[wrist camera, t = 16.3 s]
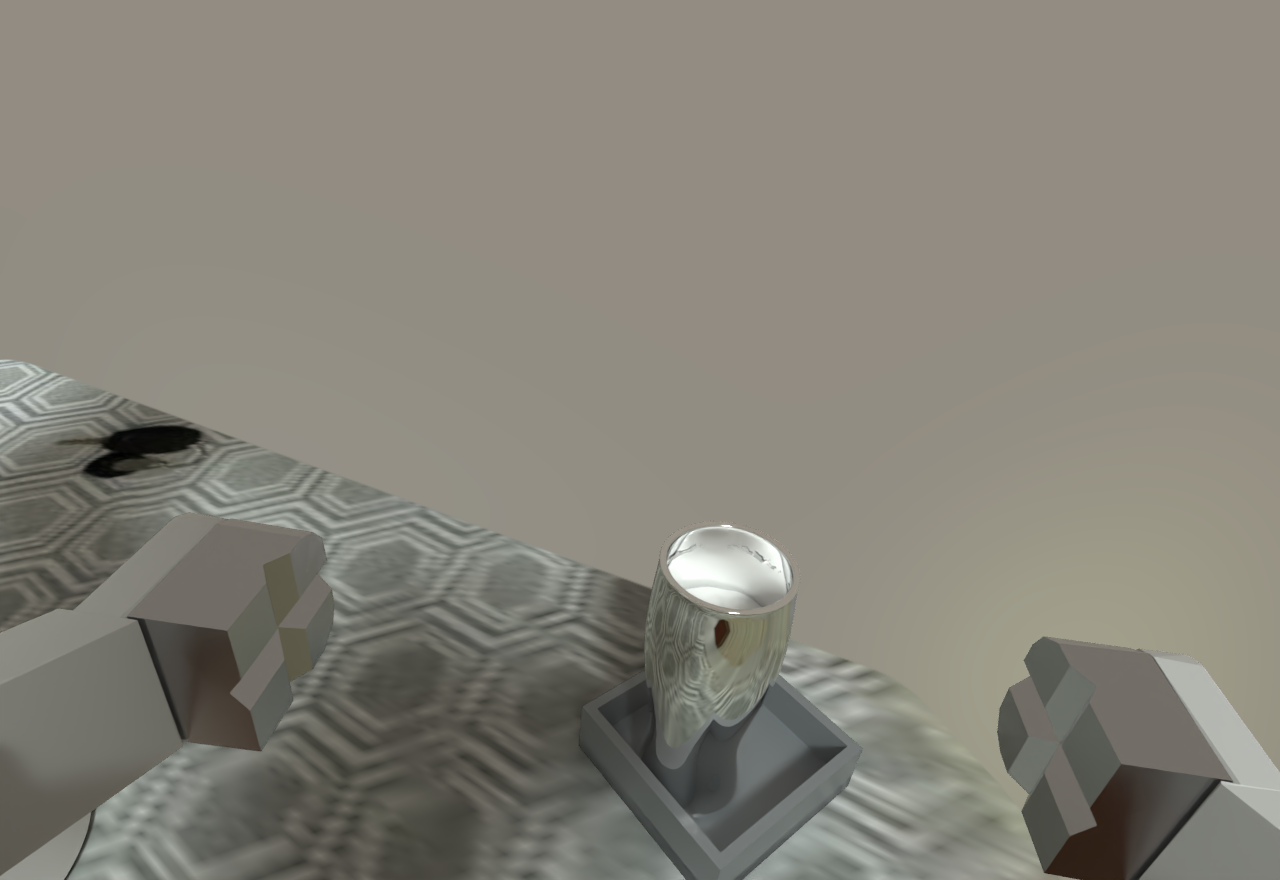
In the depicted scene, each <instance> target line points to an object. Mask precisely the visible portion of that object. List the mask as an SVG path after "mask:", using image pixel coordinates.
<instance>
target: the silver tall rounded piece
mask: <svg viewBox="0 0 1280 880" xmlns="http://www.w3.org/2000/svg"><path fill="white" fill-rule="evenodd" d="M799 586H800V571H799V568H798V565H797V563H796V561H795V559H794V558H793V556H792V555H791V554H790V552H789V551H788V550H787V549H786V548H785V547H784V546H783V545H782V544H780V543H779V542H778V541H776V540H775V539H773V538H772V537H770V536H768V535H767V534H765V533H763V532H761V531H758V530H756V529H753V528H751V527H747V526H744V525H740V524H736V523H730V522H718V521H712V522H700V523H695V524H691V525H688V526H685V527H683V528H681V529H679V530H678V531H676V532H674V533H673V534H672V535H670V536H669V537H668V539H667V540H666V541H665V542H664V544H663V546H662V548H661V551H660V559H659V564H658V568H657V571H656V575H655V579H654V583H653V587H652V591H651V595H650V600H649V606H648V612H647V617H646V627H645V637H644V660H645V674H646V686H647V695H648V708H649V715H648V722H647V726H646V728H645V730H644V733H643V735H642V737H641V739H640V742H639V744H638V747H637V750H636V755H637V756H638V757H639V758H640V759H641V760H642V761H643V763H644V764H645V765H646V766H647V767H648V768H649V770H650V771H651V772H652V773H653V774H654V775H655V777H656V778H657V779H658V780H659V781H660V782H661V784H662V785H663V786H664V787H665V788H666V789H667V791H668V792H669V793H670V794H671V795H672V796H673V798H674V799H675V800H676V801H677V802H678V803H679V805H680V806H681V807H682V808H683V809H684V810H685V812H686V813H687V814H688V815H689V816H690V817H691V818H692V819H698V818H706V817H710V816H713V815H715V814H718V813H719V812H721V811H723V810H724V809H726V808H727V807H728V806H729V805H730V804H731V803H732V802H733V800H734V799H735V797H736V796H737V794H738V792H739V789H740V786H741V781H742V750H743V744H744V741H745V739H746V736H747V734H748V732H749V730H750V729H751V727H752V725H753V723H754V722H755V720H756V718H757V716H758V715H759V713H760V711H761V709H762V708H763V706H764V704H765V702H766V700H767V699H768V697H769V695H770V693H771V691H772V689H773V686H774V684H775V682H776V680H777V678H778V676H779V673H780V670H781V667H782V664H783V661H784V658H785V655H786V651H787V647H788V643H789V638H790V634H791V629H792V624H793V618H794V612H795V605H796V598H797V593H798V589H799Z"/></svg>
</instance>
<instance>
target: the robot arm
mask: <svg viewBox="0 0 1280 880" xmlns="http://www.w3.org/2000/svg"><path fill="white" fill-rule="evenodd" d="M326 561H327V558H326V553H325V549H324V544H323V540H322V537H320V536H318V535H317V534H315V533H313V532H308V531H302V530H296V529H290V528H284V527H278V526H272V525H266V524H260V523H254V522H248V521H242V520H236V519H224V518H218V517H213V516H207V515H201V514H195V513H190V512H189V513H186V514H183V515H179V516H176V517H174V518H173V519H172V520H170V521H169V522H168V523H167V524H166V525H165V526H164V527H163V528H162V529H161V530H160V531H159V532H157V533H156V534H155V535H154V536H153V537H152V538H151V539H150V540H149V541H148V542H147V543H146V544H144V545H143V546H142V547H141V548H140V549H139V550H138V551H137V552H136V553H135V554H134V555H133V556H131V557H130V558H129V559H128V560H127V561H126V562H125V563H124V564H123V565H122V566H121V567H120V568H118V569H117V570H116V571H115V572H114V573H113V574H112V575H111V576H110V577H109V578H108V579H107V580H105V581H104V582H103V583H102V584H101V585H100V586H99V587H98V588H97V589H96V590H95V591H94V592H92V593H91V594H90V595H89V596H88V597H87V598H86V599H85V600H84V601H83V602H82V603H81V604H79V605H78V606H77V607H76V608H75V609H74V610H67V609H59V608H58V609H56V610H54V611H51V612H49V613H46V614H44V615H41V616H39V617H37V618H34V619H32V620H29V621H27V622H24V623H22V624H20V625H17V626H15V627H12V628H10V629H7V630H5V631H3V632H0V880H64V879H65V877H66V876H67V874H68V872H69V871H70V869H71V867H72V865H73V864H74V862H75V860H76V858H77V856H78V854H79V851H80V849H81V847H82V844H83V842H84V839H85V836H86V833H87V830H88V826H89V822H90V816H91V811H93V810H94V809H96V808H97V807H98V806H100V805H101V804H103V803H104V802H105V801H107V800H108V799H110V798H111V797H113V796H114V795H115V794H117V793H118V792H120V791H121V790H122V789H124V788H125V787H127V786H128V785H129V784H131V783H132V782H134V781H135V780H137V779H138V778H139V777H141V776H142V775H144V774H145V773H146V772H148V771H149V770H151V769H152V768H153V767H155V766H156V765H158V764H159V763H161V762H162V761H163V760H165V759H166V758H168V757H169V756H170V755H172V754H173V753H175V752H176V751H177V750H179V749H180V748H182V747H183V742H190V743H197V744H205V745H213V746H221V747H229V748H237V749H245V750H253V751H262V749H263V748H264V746H265V745H266V743H267V741H268V740H269V738H270V737H271V735H272V734H273V732H274V730H275V729H276V727H277V726H278V724H279V722H280V721H281V719H282V718H283V716H284V714H285V713H286V711H287V710H288V708H289V706H290V705H291V703H292V702H293V697H292V691H291V686H290V682H291V681H293V680H295V679H296V678H298V677H300V676H301V675H303V674H305V673H307V672H308V671H310V670H312V669H313V668H314V666H315V664H316V663H317V661H318V659H319V658H320V656H321V654H322V653H323V651H324V649H325V647H326V644H327V641H328V638H329V635H330V631H331V628H332V625H333V616H334V600H333V593H332V589H331V588H330V586H329V585H328V584H327V583H326V582H325V581H324V580H323V579H322V578H321V577H320V576H319V575H318V574H317V573H318V572H319V571H320V569H321V568H322V566H323V565H324V563H325V562H326ZM1024 662H1025V664H1026V667H1027V669H1028V671H1029V674H1030V677H1028V678H1026V679H1024V680H1023V681H1021V682H1019V683H1017V684H1015V685H1013V686H1012V687H1010V688H1009V689H1008V692H1007V694H1006V696H1005V698H1004V700H1003V702H1002V705H1001V707H1000V710H999V721H998V731H997V733H998V740H999V747H1000V752H1001V755H1002V758H1003V761H1004V764H1005V767H1006V770H1007V773H1008V774H1009V775H1010V776H1011V777H1012V778H1013V779H1014V780H1015V781H1016V782H1017V783H1018V784H1019V785H1020V786H1021V787H1022V788H1023V789H1024V790H1025V791H1026V792H1027V793H1028V794H1029V795H1028V797H1027V800H1026V802H1025V804H1024V807H1023V809H1022V811H1021V812H1022V814H1023V817H1024V820H1025V823H1026V825H1027V828H1028V831H1029V833H1030V836H1031V839H1032V842H1033V844H1034V847H1035V850H1036V852H1037V855H1038V858H1039V860H1040V863H1041V866H1042V869H1043V871H1044V873H1046V874H1052V875H1057V876H1062V877H1068V878H1074V879H1079V880H1280V772H1279V771H1278V770H1277V768H1276V767H1275V765H1274V764H1273V763H1272V761H1271V760H1270V758H1269V757H1268V756H1267V754H1266V753H1265V752H1264V750H1263V749H1262V748H1261V746H1260V745H1259V743H1258V742H1257V740H1256V739H1255V738H1254V736H1253V735H1252V733H1251V732H1250V731H1249V729H1248V728H1247V727H1246V725H1245V724H1244V722H1243V721H1242V720H1241V718H1240V717H1239V715H1238V714H1237V713H1236V711H1235V710H1234V708H1233V707H1232V706H1231V704H1230V703H1229V702H1228V700H1227V699H1226V697H1225V696H1224V695H1223V693H1222V692H1221V690H1220V689H1219V688H1218V686H1217V685H1216V683H1215V682H1214V681H1213V679H1212V678H1211V677H1210V675H1209V674H1208V672H1207V671H1206V670H1205V668H1204V667H1203V666H1202V665H1201V664H1200V663H1199V662H1197V661H1196V660H1194V659H1193V658H1191V657H1190V656H1188V655H1184V654H1176V653H1168V652H1160V651H1152V650H1145V649H1136V650H1135V649H1131V648H1125V647H1118V646H1110V645H1103V644H1095V643H1088V642H1081V641H1073V640H1066V639H1058V638H1051V637H1042V638H1041V639H1040V640H1038V641H1037V642H1035V643H1034V644H1033V645H1032V647H1031V648H1030V650H1029V652H1028V654H1027V656H1026V658H1025V659H1024Z"/></svg>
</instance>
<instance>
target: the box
mask: <svg viewBox="0 0 1280 880" xmlns="http://www.w3.org/2000/svg"><path fill="white" fill-rule="evenodd" d="M648 715H649V708H648V695H647V686H646V674H645V670H644V671H642V672H640V673H638V674H637V675H635V676H633V677H632V678H630V679H628V680H626V681H625V682H623V683H621V684H620V685H618V686H616V687H614V688H613V689H611V690H609V691H608V692H606V693H604V694H602V695H601V696H599V697H597V698H596V699H594V700H592V701H590V702H589V703H587V704H585V705H584V706H582V715H581V727H580V739H579V746H580V747H581V748H582V750H583V751H584V752H585V753H586V755H587V756H588V757H589V758H590V760H591V761H592V762H593V763H594V765H595V766H596V767H597V768H598V770H599V771H600V772H601V773H602V775H603V776H604V777H605V779H606V780H607V781H608V782H609V784H610V785H611V786H612V787H613V789H614V790H615V791H616V792H617V794H618V795H619V796H620V797H621V799H622V800H623V801H624V802H625V804H626V805H627V806H628V807H629V809H630V810H631V811H632V812H633V814H634V815H635V816H636V817H637V819H638V820H639V821H640V822H641V824H642V825H643V826H644V827H645V829H646V830H647V831H648V832H649V834H650V835H651V836H652V837H653V839H654V840H655V841H656V842H657V844H658V845H659V846H660V847H661V849H662V850H663V851H664V852H665V854H666V855H667V856H668V857H669V859H670V860H671V861H672V862H673V864H674V865H675V866H676V867H677V869H678V870H679V871H680V872H681V874H682V875H683V876H684V877H685V879H686V880H742V879H743V878H745V877H746V876H747V875H748V874H749V873H750V872H751V871H752V870H754V869H755V868H756V867H757V866H758V865H759V864H760V863H761V862H763V861H764V860H765V859H766V858H767V857H768V856H769V855H771V854H772V853H773V852H774V851H775V850H776V849H777V848H778V847H780V846H781V845H782V844H783V843H784V842H785V841H786V840H787V839H789V838H790V837H791V836H792V835H793V834H794V833H795V832H796V831H798V830H799V829H800V828H801V827H802V826H803V825H804V824H805V823H807V822H808V821H809V820H810V819H811V818H812V817H813V816H814V815H816V814H817V813H818V812H819V811H820V810H821V809H822V808H823V807H825V806H826V805H827V804H828V803H829V802H830V801H831V800H832V799H834V798H835V797H836V796H837V795H838V794H839V793H840V792H841V791H843V790H844V789H845V788H846V787H847V786H848V784H849V781H850V779H851V776H852V774H853V771H854V769H855V766H856V764H857V762H858V759H859V757H860V754H861V752H862V749H863V748H862V747H861V746H859V745H858V744H857V743H856V742H855V741H854V740H853V739H852V738H850V737H849V736H848V735H847V734H846V733H845V732H844V731H842V730H841V729H840V728H839V727H838V726H837V725H836V724H835V723H833V722H832V721H831V720H830V719H829V718H828V717H827V716H825V715H824V714H823V713H822V712H821V711H820V710H819V709H818V708H816V707H815V706H814V705H813V704H812V703H811V702H810V701H808V700H807V699H806V698H805V697H804V696H803V695H802V694H801V693H799V692H798V691H797V690H796V689H795V688H794V687H793V686H791V685H790V684H789V683H788V682H787V681H786V680H785V679H784V678H782V677H781V676H780V675H779V676H778V678H777V680H776V682H775V684H774V686H773V689H772V691H771V693H770V695H769V697H768V699H767V700H766V702H765V704H764V706H763V708H762V709H761V711H760V713H759V715H758V716H757V718H756V720H755V722H754V723H753V725H752V727H751V729H750V730H749V732H748V734H747V736H746V739H745V741H744V744H743V750H742V781H741V786H740V789H739V792H738V794H737V796H736V797H735V799H734V800H733V802H732V803H731V804H730V805H729V806H728V807H727V808H726V809H724V810H723V811H721V812H719V813H718V814H715V815H713V816H710V817H706V818H698V819H692V818H691V817H690V816H689V815H688V814H687V813H686V812H685V810H684V809H683V808H682V807H681V806H680V805H679V803H678V802H677V801H676V800H675V799H674V798H673V796H672V795H671V794H670V793H669V792H668V791H667V789H666V788H665V787H664V786H663V785H662V784H661V782H660V781H659V780H658V779H657V778H656V777H655V775H654V774H653V773H652V772H651V771H650V770H649V768H648V767H647V766H646V765H645V764H644V763H643V761H642V760H641V759H640V758H639V757H638V756H637V755H636V750H637V747H638V744H639V742H640V739H641V737H642V735H643V733H644V730H645V728H646V726H647V722H648Z"/></svg>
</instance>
